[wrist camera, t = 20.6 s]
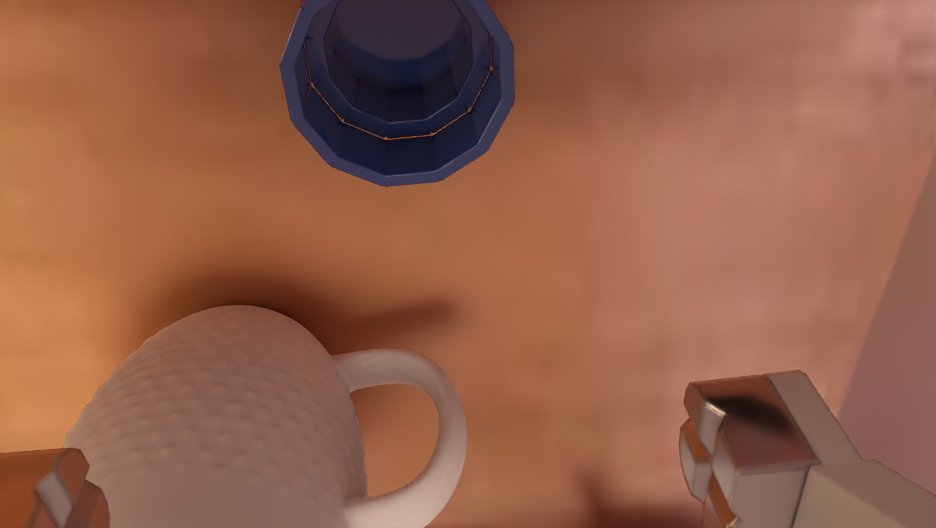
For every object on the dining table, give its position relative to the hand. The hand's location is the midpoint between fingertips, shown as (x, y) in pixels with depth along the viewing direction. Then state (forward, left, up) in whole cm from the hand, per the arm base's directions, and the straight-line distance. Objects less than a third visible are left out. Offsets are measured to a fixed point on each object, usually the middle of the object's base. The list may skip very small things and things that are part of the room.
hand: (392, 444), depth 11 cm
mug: (+14, -7, -19) cm, 25 cm away
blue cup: (0, 0, -19) cm, 19 cm away
